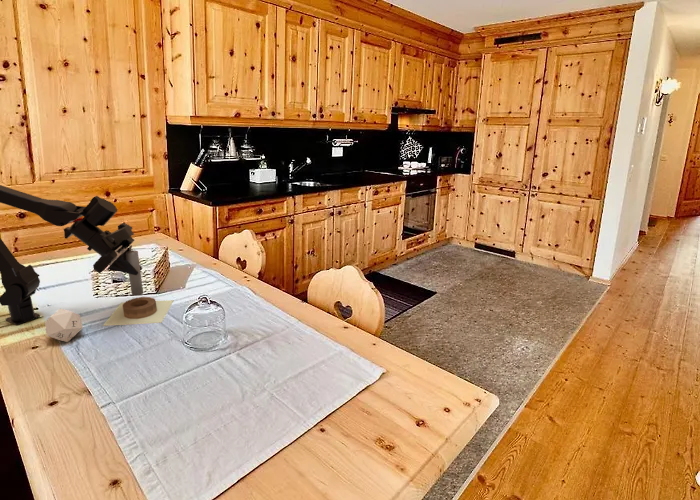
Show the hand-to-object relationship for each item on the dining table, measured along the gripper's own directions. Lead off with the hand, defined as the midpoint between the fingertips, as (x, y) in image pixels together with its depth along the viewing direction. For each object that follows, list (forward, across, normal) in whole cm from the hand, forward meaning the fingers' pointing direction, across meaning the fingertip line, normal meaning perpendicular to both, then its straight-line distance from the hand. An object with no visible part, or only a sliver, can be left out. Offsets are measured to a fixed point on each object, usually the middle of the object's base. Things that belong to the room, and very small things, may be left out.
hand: (139, 271), depth 131 cm
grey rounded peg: (+4, 0, +6) cm, 7 cm away
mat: (+9, 0, +10) cm, 14 cm away
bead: (+8, 0, +10) cm, 13 cm away
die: (-2, -13, +22) cm, 25 cm away
